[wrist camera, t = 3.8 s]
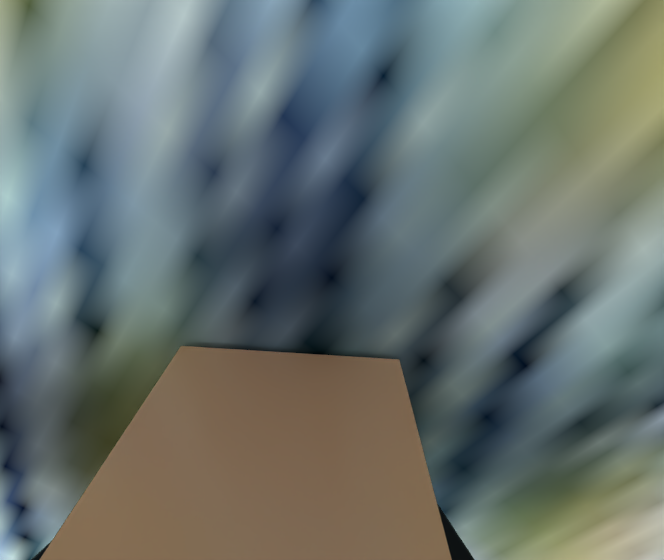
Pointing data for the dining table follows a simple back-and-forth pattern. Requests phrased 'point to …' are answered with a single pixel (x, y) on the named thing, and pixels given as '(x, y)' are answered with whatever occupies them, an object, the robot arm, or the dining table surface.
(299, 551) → the terracotta cube
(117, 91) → the dining table surface
